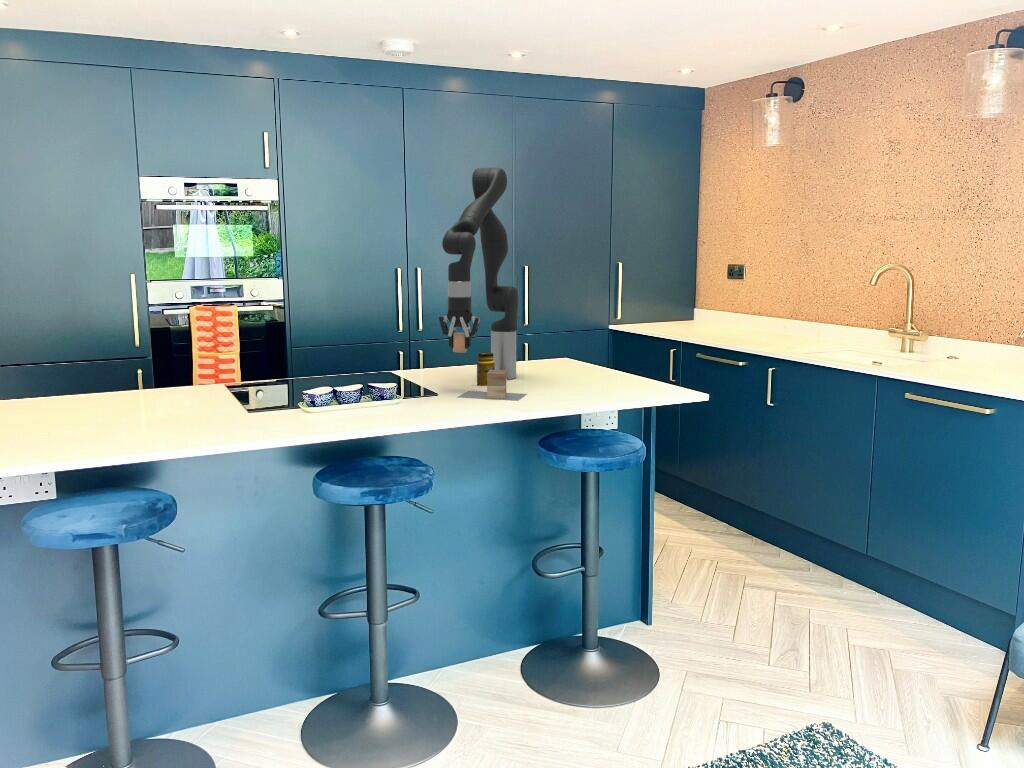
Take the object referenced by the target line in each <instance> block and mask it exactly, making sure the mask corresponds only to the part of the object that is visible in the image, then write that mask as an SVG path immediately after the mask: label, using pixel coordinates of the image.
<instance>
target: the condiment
mask: <svg viewBox="0 0 1024 768" xmlns="http://www.w3.org/2000/svg"><path fill="white" fill-rule="evenodd" d="M477 356H478V357H477V361H476V385H474V384H472V385H471V386H477V387H479V386H480V387H481V386H482V387H487V372H488V371H489V370H495V362H494V360H493V359H494V358H493V356H494V355H493V353H491V352H489V351H488V352H487V351H486V352H485V351H484V352H482V351H481V352H478V353H477Z"/></svg>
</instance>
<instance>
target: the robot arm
mask: <svg viewBox="0 0 1024 768" xmlns="http://www.w3.org/2000/svg"><path fill="white" fill-rule="evenodd" d="M471 177H472V178H471V184H472V192H473V196H474V200H473V201H472V202H471V203H469V204H468V205H467V206H466V207H465V208H464V210H463V211H462V213H461V215H460V218H459V219H458V221H457V222H456V223H454V224H453V225H452V226H451V227H450V228H449V229H448V230H447V231H446V232H445V234H444V236H443V237H442V241H441V245H442V249H443V251H444V252H445V253H446V254H447V255H457V256H458V255H461V256H460V259H459V260H458V261H454V262H451V263H449V265H448V271H447V272H448V273H447V274H448V275H447V276H448V279H447V280H448V285H447V313H446V315H441V316H439V317H438V320H439V324H440V327H441V332H442V334H443V335H446V336H448V346H449V347H450V349H453V333H456V329H457V328H458V327H459V328H462V330H463V331H464V332H463V333H465V335H466V337H465V348H466V349H467V350H468V349H470V348H471V346H472V336H476V335H477V334H478V330H479V327H480V322H481V320H482V319H481V317H480V316H475V315H473V312H472V284H471V267H472V263H473V258H474V254H475V252H476V251H475V250H476V245H477V241H476V238H475V235H476V234H477V233H478V231H479V234H480V243H481V252H482V258H483V266H484V277H485V279H484V281H485V299H486V306H487V308H488V310H489V311H491V312H497V313H498V312H501V313H504V317H502V318H501V319H499V320H496V321H494V322H492V323H491V325H490V353H493V355H494V356H493V358H494V359H493V360H494V362H495V370H500V371H507V377H506V380H512V379H516V378H517V326H518V313H519V311H518V309H519V308H518V307H519V293H518V289H517V288H516V287H515V286H507V285H506V286H505V285H502V286H501V285H498V275H499V271H500V269H501V268H502V265H503V263H504V262H505V259H506V257H507V256H508V251H509V242H508V234H507V230H506V228H505V225H503V223H502V222H501V220H500V218H499V217H498V216H497V215H496V214H495V212H494V211H493V210H492V208H493V207H494V206H495V205H496V204H497V202H498V201H499V200H500V198H501V197H502V196H503V194H504V193H505V191H506V190H507V186H508V175H507V174H506V171H505V170H504V169H503V168H501V167H479V168H478V167H477V168H475V169H474V170H473V172H472V175H471ZM447 321H449V322H450V324H449V327H448V324H447ZM471 321H472V323H473V325H472V328H471V326H470V322H471Z"/></svg>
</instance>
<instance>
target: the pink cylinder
mask: <svg viewBox="0 0 1024 768" xmlns="http://www.w3.org/2000/svg"><path fill="white" fill-rule="evenodd" d="M465 337H466V335H465V332H458V331H457V332H455V333H453V348H452V352H454V353H459V354H461V353H462V354H463V353H467V352H468V351H467V350H468V349H466V348H465Z"/></svg>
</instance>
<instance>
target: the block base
mask: <svg viewBox="0 0 1024 768" xmlns="http://www.w3.org/2000/svg"><path fill="white" fill-rule="evenodd" d="M486 392H487V398H489V399H488V400H493V399H505V397H506V393H507V384H506V385H505V386H486Z"/></svg>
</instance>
